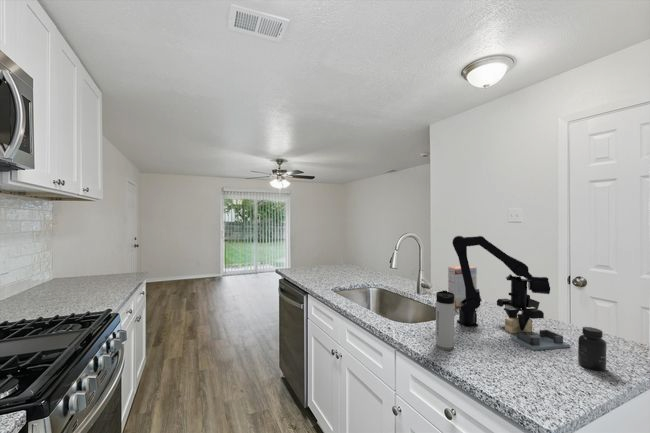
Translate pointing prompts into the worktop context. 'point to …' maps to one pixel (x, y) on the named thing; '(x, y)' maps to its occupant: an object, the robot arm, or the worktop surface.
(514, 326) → the slat
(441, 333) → the travel mug
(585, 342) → the supplement bottle
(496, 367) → the worktop surface
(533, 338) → the board
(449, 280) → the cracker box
